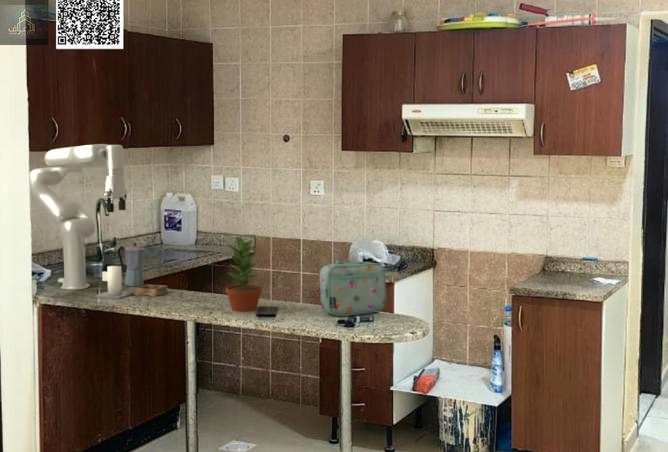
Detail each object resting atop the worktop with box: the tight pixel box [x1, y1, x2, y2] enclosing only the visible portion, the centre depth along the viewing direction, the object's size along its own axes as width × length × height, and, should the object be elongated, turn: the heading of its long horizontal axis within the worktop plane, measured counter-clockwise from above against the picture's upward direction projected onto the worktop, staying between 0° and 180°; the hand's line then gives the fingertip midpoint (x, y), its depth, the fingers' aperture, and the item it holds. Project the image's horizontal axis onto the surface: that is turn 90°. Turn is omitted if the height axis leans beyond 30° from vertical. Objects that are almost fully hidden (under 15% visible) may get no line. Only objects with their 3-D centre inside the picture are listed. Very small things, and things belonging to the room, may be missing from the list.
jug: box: [101, 265, 123, 295], centre depth 436 cm, size 9×6×12 cm
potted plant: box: [225, 235, 263, 312], centre depth 403 cm, size 15×15×30 cm
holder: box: [134, 284, 168, 297], centre depth 440 cm, size 10×10×3 cm
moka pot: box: [117, 242, 148, 288], centre depth 462 cm, size 10×15×20 cm, turn 78°
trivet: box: [94, 291, 135, 300], centre depth 436 cm, size 12×12×1 cm
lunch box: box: [319, 260, 387, 317], centre depth 394 cm, size 27×10×21 cm, turn 114°
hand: (116, 211), depth 443 cm, fingers open, 9 cm apart
